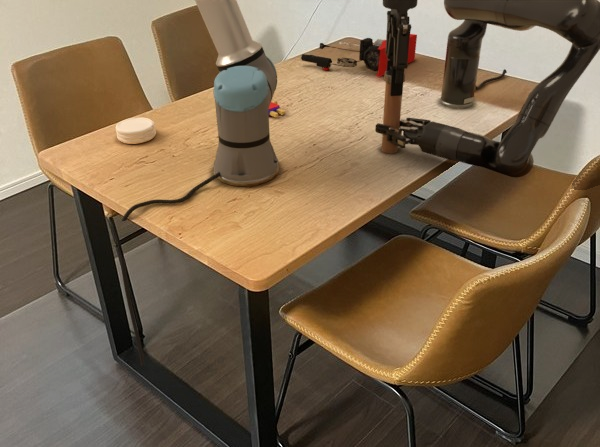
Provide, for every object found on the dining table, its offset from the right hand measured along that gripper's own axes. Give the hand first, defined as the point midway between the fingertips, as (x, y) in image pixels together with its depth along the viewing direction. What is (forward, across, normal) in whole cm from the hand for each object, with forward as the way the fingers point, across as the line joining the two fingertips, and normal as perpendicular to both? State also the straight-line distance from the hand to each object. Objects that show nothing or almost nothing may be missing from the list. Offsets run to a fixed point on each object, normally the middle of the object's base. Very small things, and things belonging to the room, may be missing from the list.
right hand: (381, 124), depth 153 cm
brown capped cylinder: (-3, 0, +6) cm, 7 cm away
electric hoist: (+41, -53, +6) cm, 67 cm away
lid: (-3, 0, -13) cm, 14 cm away
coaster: (+55, +32, +6) cm, 64 cm away
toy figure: (+39, -1, +6) cm, 39 cm away
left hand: (-3, 0, -9) cm, 10 cm away
